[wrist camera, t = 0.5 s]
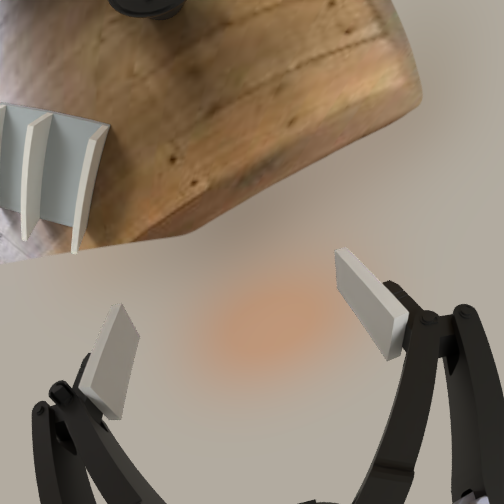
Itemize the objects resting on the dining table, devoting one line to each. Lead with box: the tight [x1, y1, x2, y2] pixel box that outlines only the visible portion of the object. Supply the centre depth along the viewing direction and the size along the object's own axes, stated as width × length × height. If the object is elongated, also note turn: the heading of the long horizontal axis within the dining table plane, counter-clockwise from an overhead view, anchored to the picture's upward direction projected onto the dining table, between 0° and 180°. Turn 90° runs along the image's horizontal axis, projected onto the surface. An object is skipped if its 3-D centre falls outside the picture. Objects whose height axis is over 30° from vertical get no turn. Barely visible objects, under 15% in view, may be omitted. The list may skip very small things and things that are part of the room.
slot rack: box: [0, 102, 110, 254], centre depth 27 cm, size 18×28×7 cm, turn 62°
